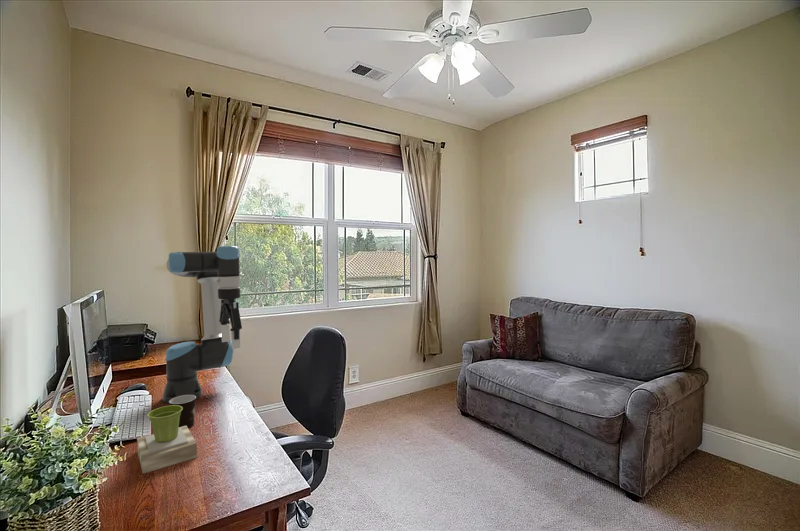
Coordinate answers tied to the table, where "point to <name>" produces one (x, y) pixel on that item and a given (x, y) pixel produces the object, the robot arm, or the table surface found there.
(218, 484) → the table surface
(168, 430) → the plant pot
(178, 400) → the coffee mug
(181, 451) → the wooden stand
